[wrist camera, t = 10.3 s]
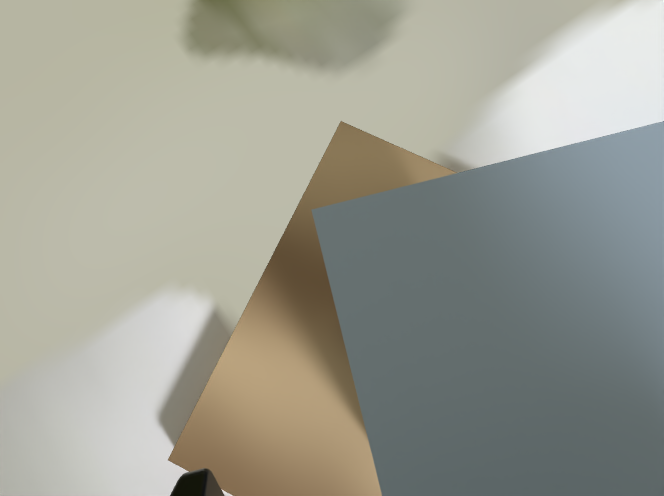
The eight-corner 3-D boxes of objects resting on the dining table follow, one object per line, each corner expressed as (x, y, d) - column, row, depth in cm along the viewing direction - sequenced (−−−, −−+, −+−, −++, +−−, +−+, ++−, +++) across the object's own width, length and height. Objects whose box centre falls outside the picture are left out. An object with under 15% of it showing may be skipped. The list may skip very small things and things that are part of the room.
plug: (521, 420, 16) (932, 569, 5) (379, 455, 16) (431, 695, 5) (480, 280, 17) (740, 101, 5) (344, 313, 17) (312, 210, 5)
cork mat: (529, 643, 16) (540, 661, 15) (178, 454, 18) (167, 459, 17) (673, 281, 18) (691, 276, 17) (341, 133, 19) (340, 121, 18)
